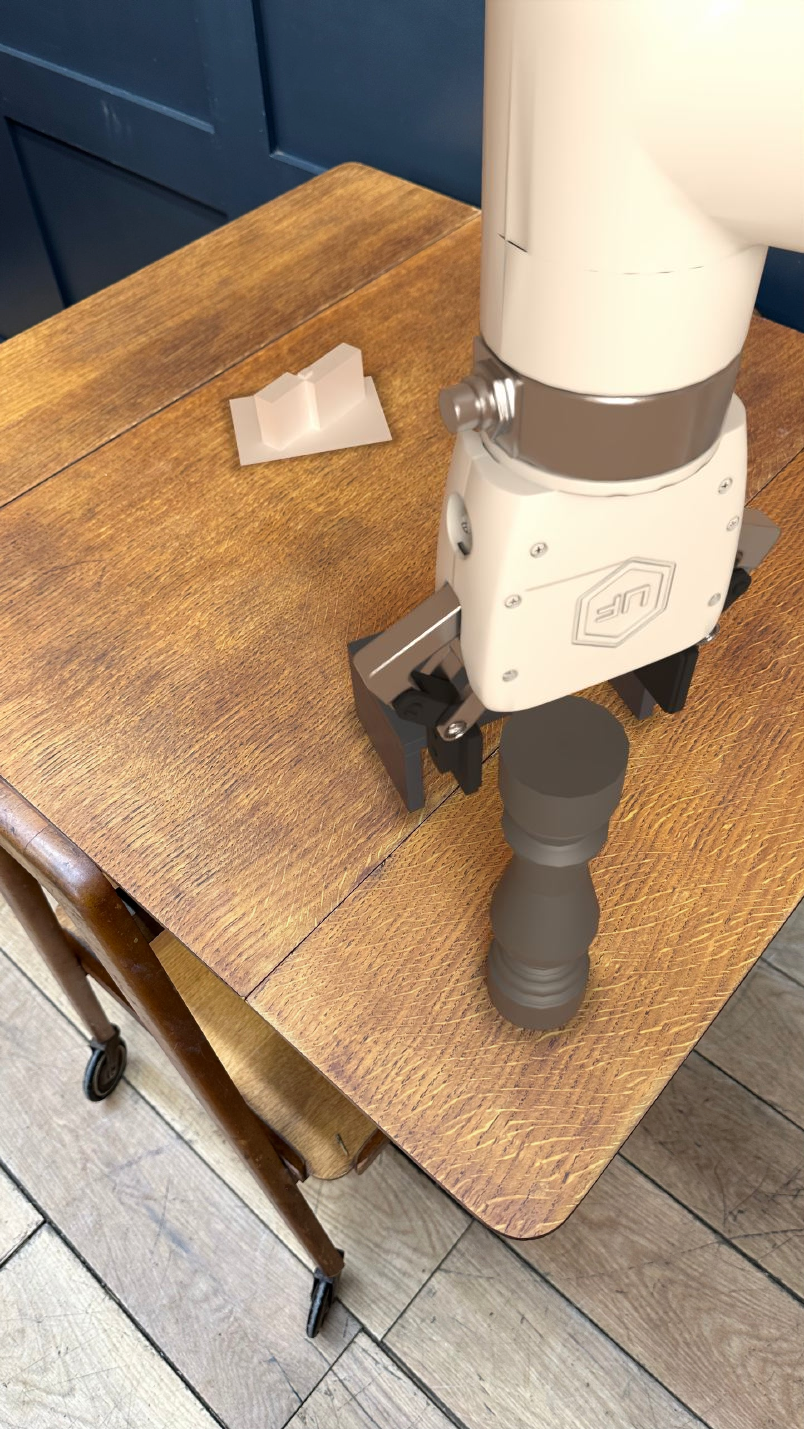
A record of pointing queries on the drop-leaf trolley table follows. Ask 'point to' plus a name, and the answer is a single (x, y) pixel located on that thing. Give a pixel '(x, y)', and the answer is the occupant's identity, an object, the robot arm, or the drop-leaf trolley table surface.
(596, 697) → the drop-leaf trolley table surface
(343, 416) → the napkin holder
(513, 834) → the candle holder
